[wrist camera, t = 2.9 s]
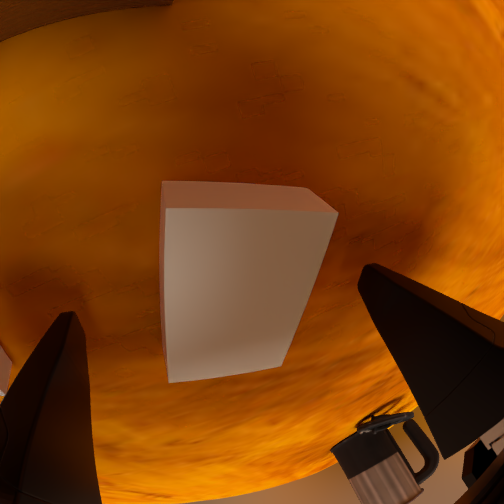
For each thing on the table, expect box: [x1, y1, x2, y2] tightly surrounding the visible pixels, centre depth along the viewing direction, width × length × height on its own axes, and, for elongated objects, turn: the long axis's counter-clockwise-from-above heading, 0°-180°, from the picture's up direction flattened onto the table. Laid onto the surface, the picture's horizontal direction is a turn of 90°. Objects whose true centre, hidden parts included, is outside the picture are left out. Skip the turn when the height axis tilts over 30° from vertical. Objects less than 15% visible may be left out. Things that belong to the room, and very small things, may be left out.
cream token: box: [159, 181, 339, 383], centre depth 8 cm, size 6×4×2 cm, turn 169°
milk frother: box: [331, 412, 439, 504], centre depth 27 cm, size 14×16×15 cm
